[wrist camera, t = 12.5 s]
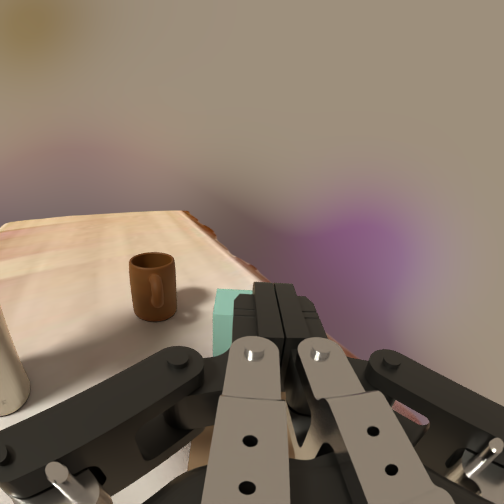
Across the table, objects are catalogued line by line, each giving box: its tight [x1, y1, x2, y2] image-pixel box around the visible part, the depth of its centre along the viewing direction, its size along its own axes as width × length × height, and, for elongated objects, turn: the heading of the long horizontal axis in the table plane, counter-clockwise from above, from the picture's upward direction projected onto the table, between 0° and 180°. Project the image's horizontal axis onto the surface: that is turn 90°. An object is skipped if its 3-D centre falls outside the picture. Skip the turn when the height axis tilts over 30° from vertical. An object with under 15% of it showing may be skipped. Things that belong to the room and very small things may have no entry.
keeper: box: [213, 289, 253, 357], centre depth 29 cm, size 5×6×11 cm
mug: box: [129, 252, 177, 322], centre depth 44 cm, size 12×8×9 cm, turn 24°
